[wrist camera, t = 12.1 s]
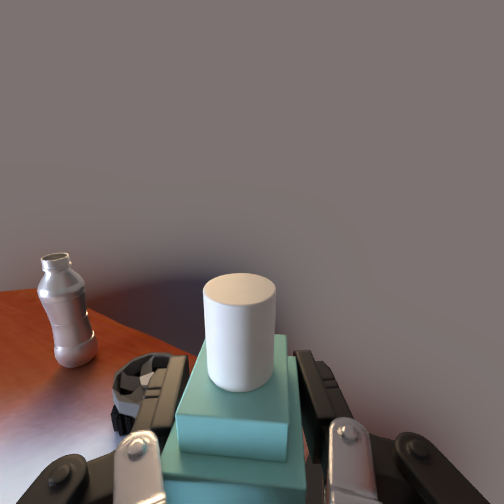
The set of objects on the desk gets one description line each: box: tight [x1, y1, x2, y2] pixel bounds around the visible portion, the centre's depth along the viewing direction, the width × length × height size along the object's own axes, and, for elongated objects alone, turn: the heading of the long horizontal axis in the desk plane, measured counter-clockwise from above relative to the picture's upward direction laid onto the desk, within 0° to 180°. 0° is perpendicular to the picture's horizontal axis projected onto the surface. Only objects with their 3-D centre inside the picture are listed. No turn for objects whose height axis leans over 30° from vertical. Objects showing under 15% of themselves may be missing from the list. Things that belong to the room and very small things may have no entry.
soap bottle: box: [161, 273, 307, 504], centre depth 12 cm, size 4×5×18 cm
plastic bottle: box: [37, 253, 98, 368], centre depth 48 cm, size 6×7×20 cm
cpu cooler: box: [111, 353, 174, 436], centre depth 41 cm, size 10×6×10 cm
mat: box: [305, 453, 323, 504], centre depth 31 cm, size 7×7×1 cm
